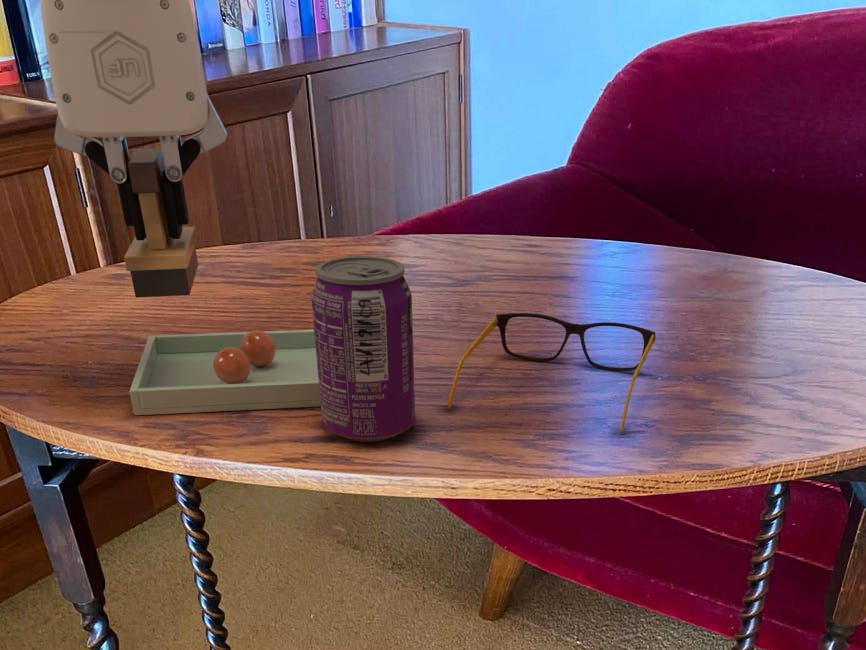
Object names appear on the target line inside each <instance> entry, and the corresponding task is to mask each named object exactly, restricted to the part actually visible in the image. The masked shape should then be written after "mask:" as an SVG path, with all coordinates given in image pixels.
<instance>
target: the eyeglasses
mask: <svg viewBox="0 0 866 650" xmlns="http://www.w3.org/2000/svg"><path fill="white" fill-rule="evenodd" d="M512 318H537V319H542V320H547V321H550V322H554V323H556V324H558V325H560V326H562V327H563V328H564V330H565V335H564V338H563V341H562V343H561V346H560V348H559V349H558V351H557V352H556V354H554V355H553V356H551V357H543V358H542V357H541V358H539V357H533V356H528V355H527V356H526V355H522V354H519V353H515V352H513V351H511V350H510V349H509V348H508V346H507V340H506V330H507V325H508V322H509V321H510V319H512ZM496 327H497V328H498V329H499V334H500V339H501V345H502V349H503V351H504V352H505V353H506V354H507V355H509V356H511V357H514V358H517V359H522V360H526V361H533V362H552V361H554V360H556V359H557V358H558V357H559V356H560V354H561V353H562V352H563V350H564V348H565V346H566V344H567V342H568V340H569V338H570V336H571V335H577V336H579V339H580V344H581V348H582V352H583V354H584V356H585V359H586V360H587V362H588V364H590V366H592V367H595V368H597V369H600V370H604V371H605V370H606V371H614V372H632V371H633V372H634V373H633V375H632V378H631V381H630V384H629V387H628V391H627V395H626V400H625V404H624V409H623V412H622V417H621V421H620V425H619V426H620V427H619V432H620V433H623V431H624V427H625V423H626V419H627V415H628V414H627V413H628V409H629V404H630V399H631V396H632V393H633V392H632V391H633V388H634V385H635V382H636V380H637V377H638V375H639V373H640V371H641V370H642V367H643V365H644V363H645V361H646V358H647V357H648V355H649V353H650V351H651V349H652V347H653V346H654V343H655V341H656V335H657V333H656V331H653V330H650V329H647V328H643V327H640V326H637V325H633V324H628V323H621V322H611V321H609V322H608V321H605V322H602V321H601V322H593V323H583V324H581V323H572V322H569V321H565V320H562V319H560V318H557V317H553V316H550V315H546V314H540V313H530V312H511V313H499V314H498V313H497V314H496V315H495V316H494V318H493V319H492V320H490V322H489V323H488V324H487V325H486V327H485V328H484V329H483V330H482V332H481V333H480V334H479V335H478V337H476V339H475V340H474V342H473V343H472V344H471V345H470V347H468V349H467V350H466V351H465V352H464V354H463V355H462V357H461V359H460V361H459V363H458V366H457V368H456V371H455V374H454V379H453V382H452V385H451V390H450V393H449V397H448V400H447V408H448V409H451V408H452V406H453V402H454V398H455V392H456V389H457V384H458V380H459V376H460V373H461V370H462V367H463V365H464V363H465V361H466V359H467V358H468V357H470V355H471V354H472V353H473V352H474V351H475V349H476V348H478V346H479V345H480V344H481V343H482V342H483V341H484V340H485V338H486V337H487V336H489V335H490V334H491V332H493V331H494V330H495V329H496ZM598 327H616V328H623V329H624V328H625V329H629V330H633V331H636V332H638V333H639V334H641V336H642V340H643V348H642V353H641V356H640V357H641V358H640V359H639V362H638V363H637V364H636V365H634V366H630V367H613V366H605V365H602V364H599V363H597V362H594V361H593V360H592V359H591V357H590V355H589V353H588V350H587V347H586V342H585V333H586V332H587V330H589V329H593V328H598Z"/></svg>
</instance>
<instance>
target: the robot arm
mask: <svg viewBox="0 0 866 650" xmlns="http://www.w3.org/2000/svg"><path fill="white" fill-rule="evenodd" d="M39 1H40V11H41V20H42V28H43V34H44V41H45V42H44V43H45V49H46V54H47V61H48V66H49V67H48V68H49V72H50V77H51V79H50V80H51V84H52V90H53V95H54V96H53V97H54V100H55V106H56V110H57V115H56V122H55V129H54V134H53V141H54V143H55V144H56V146H57V147H59V148H61V149H64V150H67V151H69V152H72V153H75V154H78V155H80V156H84V157H87V158H88V159H89V160H91V161H92V162H93V163H94V164H95V165H96V166H98V167H99V168H100V169H101V170H103V171H104V172H105V173H106V174H107V175H108V176H110V179H111V180H112V181H113V182H114V183H116V184H117V189H118V194H119V200H120V205H121V210H122V214H123V219H124V223H125V226H126V227H133V230H134V231H133V232H134V235H135V236H136V240H144V239H145V238H147V236H146V231H145V226H144V221H143V215H142V210H141V205H140V200H139V195H138V193H134V192H133V188H132V183H131V178H130V173H129V168H128V162H129V161H130V160H131V157H130V152H129V151H130V150H129V147H128V143H127V138H136V137H138V138H143V137H158V139H159V145H160V148H161V151H162V157H163V163H164V170H163V172H162V176H163V181H162V183H161V193H162V198H163V204H164V210H165V215H166V221H167V227H168V232H169V237H172V239H180V236H181V234H182V231H183V229H182V227H183V225H186V226H187V225H189V223H190V219H189V218H190V217H189V211H188V206H187V205H188V203H187V199H186V192H185V187H184V180H183V176H184V175H185V174H186V172H187V171H188V170H189V168H190V167H191V166H192V164H193V163H194V162H195V161H196V159H197V158H198V156H200V155H202V154H204V153H206V152H209V151H211V150H213V149H215V148H216V147H219V146H221V145H223V144H224V143H225V142H226V140H227V138H228V133H227V130H226V128H225V126H224V124H223V122H222V120H221V118H220V116H219V114H218V112H217V110H216V108H215V106H214V104H213V102H212V101H211V99H210V97H209V91H208V84H207V78H206V73H205V72H206V71H205V67H204V61H203V57H202V52H201V47H200V42H199V37H198V31H197V28H196V24H195V23H196V22H195V18H194V15H193V11H192V7H191V3H190V0H39ZM200 130H201V131H200ZM191 134H192V135H191ZM188 135H191V136H188ZM182 136H188V137H187V138H185V141H183V143H182ZM100 138H101V139H102V140H101V139H100ZM135 236H134V237H135Z"/></svg>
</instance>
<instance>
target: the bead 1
mask: <svg viewBox="0 0 866 650" xmlns="http://www.w3.org/2000/svg"><path fill="white" fill-rule="evenodd" d="M213 366H214V371H215V373H216V375H217V377H218V378H219V379H220V380H221V381H223V382H224V383H226V384H240V383H242V382H244V381H245V380H246V379H247V378H248V376H249V375H250V371H251V363H250V360H249V358H248V356H247V355H246V353H245V352H243V351H242V350H240V349H238V348H235V347H227V348H224V349H222V350H220V351H219V352H218V353H217V354H216V356H215V358H214V363H213Z"/></svg>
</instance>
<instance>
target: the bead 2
mask: <svg viewBox="0 0 866 650" xmlns="http://www.w3.org/2000/svg"><path fill="white" fill-rule="evenodd" d="M248 332H249V333H247V334H246V335H245V336H244V337H243V339H242V341H241V345H240V350H242V351H243V352H245V353H246V355H247V356H248V358H249V360H250V363H251V365H253V366H256V367H262V366H266V365H268V364H269V363H271V362H272V360H273V359H274V357H275V354H276V345H275V342H274V340H273V339H272V337H271V336H270V335H269V334H267V333H266V332H264V331H263V330H258V329H256V330H250V331H248Z"/></svg>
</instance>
